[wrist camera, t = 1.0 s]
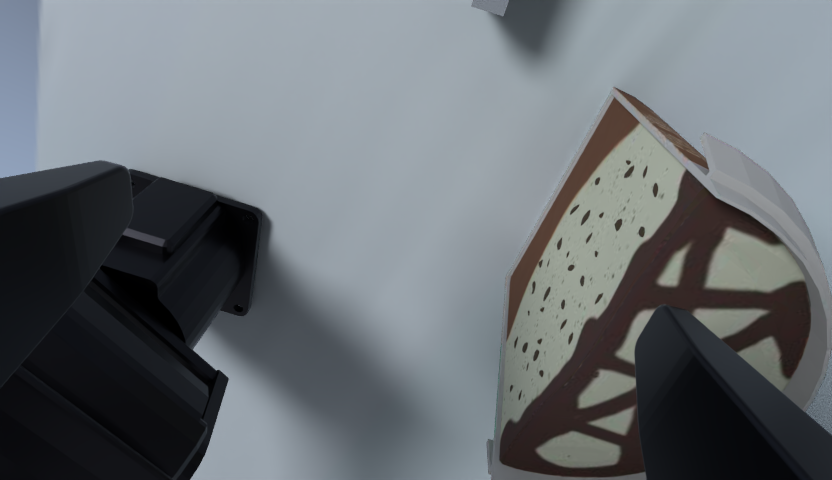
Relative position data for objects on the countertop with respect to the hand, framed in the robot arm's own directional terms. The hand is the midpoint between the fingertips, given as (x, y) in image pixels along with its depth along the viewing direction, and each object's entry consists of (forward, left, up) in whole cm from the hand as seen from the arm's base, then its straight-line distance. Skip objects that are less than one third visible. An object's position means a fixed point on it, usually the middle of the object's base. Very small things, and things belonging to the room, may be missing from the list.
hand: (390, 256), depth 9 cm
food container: (-4, -9, -13) cm, 16 cm away
